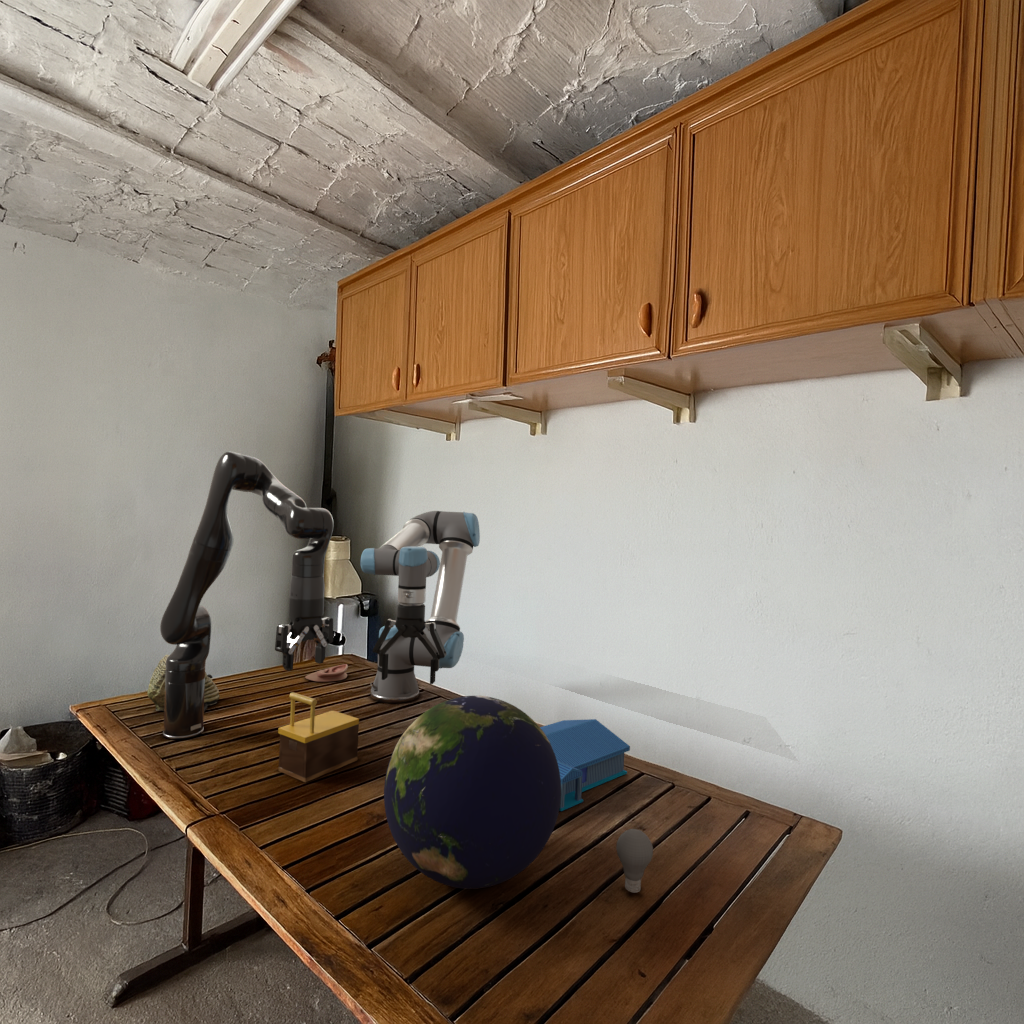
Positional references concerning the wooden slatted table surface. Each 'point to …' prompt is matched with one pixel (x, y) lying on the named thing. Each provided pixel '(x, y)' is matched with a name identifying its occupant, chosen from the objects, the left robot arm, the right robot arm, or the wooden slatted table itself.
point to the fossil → (158, 687)
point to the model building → (584, 756)
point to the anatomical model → (329, 674)
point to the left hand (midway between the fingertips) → (304, 666)
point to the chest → (318, 754)
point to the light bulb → (634, 857)
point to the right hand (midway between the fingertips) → (408, 680)
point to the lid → (315, 722)
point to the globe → (472, 792)
